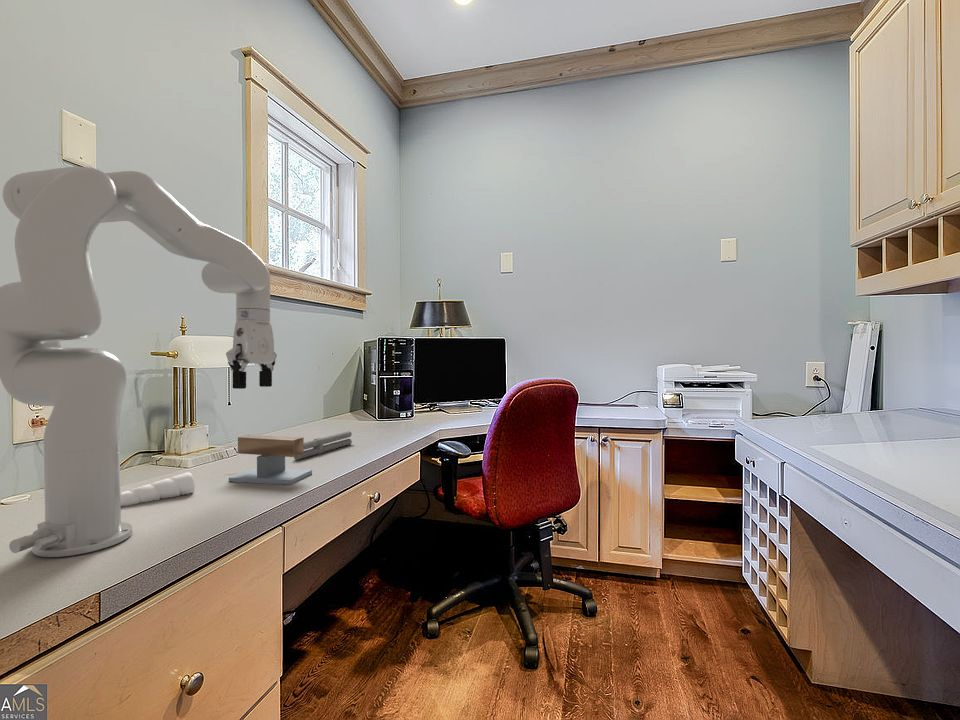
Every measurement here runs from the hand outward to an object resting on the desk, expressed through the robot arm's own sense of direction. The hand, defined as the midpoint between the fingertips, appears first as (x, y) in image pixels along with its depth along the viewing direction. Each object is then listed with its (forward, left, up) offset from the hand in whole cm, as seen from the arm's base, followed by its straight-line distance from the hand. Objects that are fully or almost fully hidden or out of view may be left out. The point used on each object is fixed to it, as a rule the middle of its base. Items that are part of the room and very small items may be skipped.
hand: (253, 387), depth 118 cm
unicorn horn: (-22, +12, -23) cm, 34 cm away
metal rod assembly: (+33, -2, -23) cm, 40 cm away
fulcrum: (+1, -4, -22) cm, 23 cm away
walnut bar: (+1, -4, -16) cm, 17 cm away
